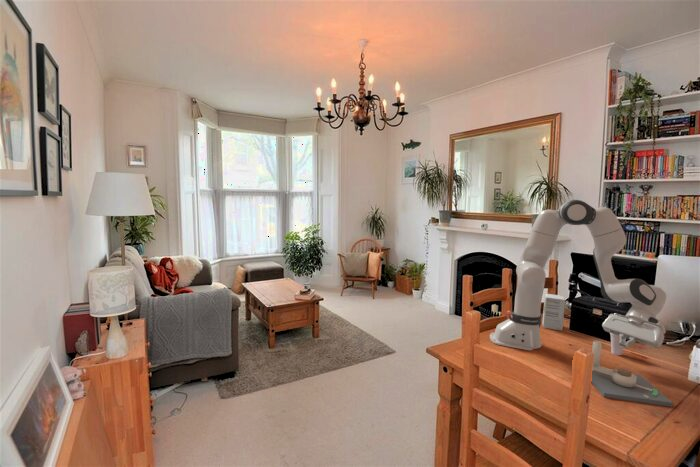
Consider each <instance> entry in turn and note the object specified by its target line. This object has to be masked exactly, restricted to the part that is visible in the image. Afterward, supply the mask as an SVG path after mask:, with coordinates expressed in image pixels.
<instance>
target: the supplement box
mask: <svg viewBox="0 0 700 467" xmlns="http://www.w3.org/2000/svg"><path fill="white" fill-rule="evenodd" d="M565 307H566V299H565V296H564V295H559V294H554V293H553V294H552V293H551V294H550V293H544V300H543V311H542V320H541V323H542V328H544V329H549V330H556V331H563V328H564V318H565V315H564V314H565Z"/></svg>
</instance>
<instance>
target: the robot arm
mask: <svg viewBox="0 0 700 467" xmlns="http://www.w3.org/2000/svg"><path fill="white" fill-rule="evenodd" d="M565 225H569V226H582V225H585V226H586V227H587V228H588V230H589V232H590V235H591V237H592V239H593V240H592V241H593V243H594V244H593V245H594V248H593V251H592V253H593V254H592V256H593V261H594V264H595V267H596V272H597V275H598V278H599V279H598V280H599V283H600V293H601V295H602V297H603V298H604V299H605V300H606V301H607V302H609V303H611V304H618V303H619V304H621V303H630V304H631V307H630V308H629V310H628V311H627V312H626V314H625V315H624V314H621V313H620V314H619V313H617V312H614V313H610V314H608V317H606V319H605V320H604V321H603V322H602V324H601V326H602V328H603V330H604V332H607V333H609V334H610V333H613V334H616V335H619V338H620V341H619V342H618V344H619V345H620V346H623V347H624V348H626V349H628V348H629V346H631V345H633V344H635V343H636V342H637V343H640V344H643V345H647V346H650V347H653V348H656V349H657V348H660V347H661V346H662V345H663V342H664V340H665V333H666V332H667V331H666V328H665V325H664V324H663V322H662V321H661V320H659V319H658V318H657V315H658V314H660V313H661V311H662V310H663V308H664V306H665V304H666V300H667V294H666V291H665V290H663V289H662V288H661V287H660V286H657V285H654V284H648V283H647V281H645V280H643V279H640V278H627V279H618V278H617V277H616V276H615V271H614V268H613V265H612V258H613V256H614V255H615V254H617V253H618V252H620V251H621V250H622V249H623V248H624V247H625V245H626V242H627V237H626V233H625V231H624V229H623V227H622V225H621V222H620V221H619V219H618V217H617V216H616V214H615V213H614V212H613V211H612V209H611V208H609V207H606V206H600V207H596V208H594V207H593V206H591V205H589V204H588V203H587V202H586V201H583V200H579V199H571V200H567V201H566V202H564V203H562V204H561V205H560V206H559V207H557V209H554V210H553V209H544V210H541V211H540V212H539V213H538V215H537V216H536V218H535V220H534V222H533V225H532V227H531V230H530V233H529V236H528V239H527V241H526V244H525V247H524V249H523V251H522V253H521V256H520V258H519V260H518V263H517V266H516V269H515V273H516V276H517V282H516V283H517V284H516V285H517V286H516V290H515V291H516V292H515V296H514V305H513V306H514V308H513V309H514V310H513V311H511V310H507V311H506V314H507V315H508V319H506V320H503V321H502V322H500V323H498V324H497V325H496V328H495V330H494V332H490V334H489V340H490V341H491V343H493V344H495V345H498V346H504V347H508V348H513V349H514V348H515V349H520V350H523V351H524V350H526V351H533V350H535V349H537V350H538V349H540V348H541V347H542V340H541V333H540V328H541V323H542V315H541V310H542V309H541V308H542V299H543V294H544V288H545V284H546V275H547V274H546V271H545V266H546V264H547V262H548V261H549V258H550V257H551V255H552V253H553V251H554V248H555V245H556V242H557V239H558V237H559V235H560V232H561V229H562V228H563V226H565ZM625 338H626V339H627V341H623V339H625Z"/></svg>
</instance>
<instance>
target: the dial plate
mask: <svg viewBox="0 0 700 467" xmlns="http://www.w3.org/2000/svg"><path fill="white" fill-rule="evenodd" d="M633 374H634V375H635V376H636V377H637V378H636V385H639V386H643V387H646V388H649V389H652V391H649V390H646V389H643V388H640V387H637V386H635V387H633V388H630V387H624V386H621V385H618V384H616V383H614V382H613V381H612V376H611V375H608V374H605V373H601V372H598V371H595V370H593V371H592V383H591V384H592V385H593V386H594V388H596V390H597V391H598V392H599V393H600V395H601V396H602V397H603V398H607V399H615V400H620V401H626V402H627V401H629V402H635V403H643V404H648V405H654V406H655V405H656V406H663V407H671V408H673V405H674V402H673V401H672V400H670V399H669V398H668V397H667V396H666V395H664V394H663V392H662V391H660V390H659V389H658V388H657V387H656V386H654V385H653V384H652V383H651V382H649V381H648V380H647V379H646V378H645V377H644V376H642V375H641V374H637V373H633Z"/></svg>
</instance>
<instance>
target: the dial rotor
mask: <svg viewBox="0 0 700 467" xmlns="http://www.w3.org/2000/svg"><path fill="white" fill-rule="evenodd" d="M602 344H603V343H602V342H600V341H597V340H593V341H592V347H591V348H592V350H591V354H592V353H593V354H594V362H593V370H595V371H598V372H601V373H605V374H608V375H611V376H612V381H613V382H614V383H616V384H618V385H621V386H624V387H630V388H633V387H635V386H637V387H640V388H643V389H646V390H649V391H652V389H649V388H646V387H643V386H639V385H636V378H637V377H636V376H635V375H634V374H635V373H632V371H629V370H628V369H624V368H618V369H611V368H608V367H605V366H602V365H601V357H602V356H601V355H602V347H603V346H602Z"/></svg>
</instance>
